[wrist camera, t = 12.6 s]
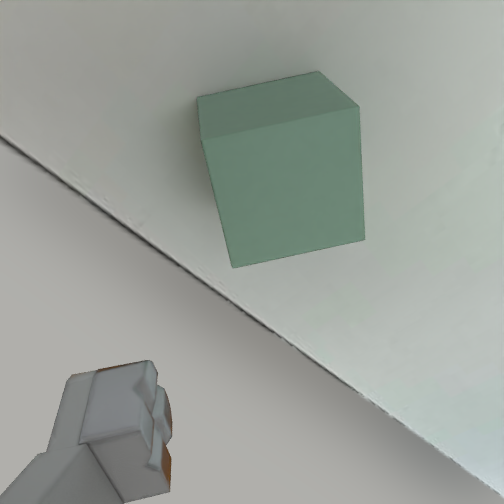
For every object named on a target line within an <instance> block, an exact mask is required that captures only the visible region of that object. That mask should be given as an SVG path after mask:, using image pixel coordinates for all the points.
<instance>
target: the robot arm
mask: <svg viewBox="0 0 504 504" xmlns="http://www.w3.org/2000/svg"><path fill="white" fill-rule="evenodd" d="M157 376H158V372H157V370H156V368H155V366H154V364H153V362H152V361H150V360H145V361H140V362H134V363H129V364H124V365H118V366H113V367H108V368H103V369H98V370H95V371H90V372H84V373H79V374H73V375H71V377H70V378H69V379H68V380H67V382H66V385H65V388H64V392H63V396H62V399H61V402H60V406H59V410H58V413H57V416H56V420H55V423H54V427H53V430H52V434H51V437H50V441H49V444H48V448H47V451H46V452H45V453H40V454H38V455H37V456H36V457H35V458H34V459H33V460H32V461H31V462H30V463H29V464H28V466H27V467H26V468H25V469H24V470H23V471H22V472H21V473H20V474H19V476H18V477H17V478H16V479H15V480H14V481H13V482H12V483H11V484H10V485H9V487H8V488H7V489H6V490H5V491H4V492H3V493H2V494H1V496H0V504H123V503H126V502H131V501H135V500H139V499H143V498H147V497H152V496H155V495H160V494H163V493H168V492H170V480H171V456H170V454H169V452H168V450H167V447H166V445H167V443H168V442H169V440H170V439H171V437H172V417H171V408H170V404H169V400H168V397H167V394H166V392H165V389H164V388H163V387H161V386H159V385H157Z"/></svg>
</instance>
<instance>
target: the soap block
mask: <svg viewBox="0 0 504 504" xmlns="http://www.w3.org/2000/svg"><path fill="white" fill-rule="evenodd" d="M197 106H198V116H199V126H200V137H201V144H202V148H203V152H204V156H205V160H206V164H207V168H208V172H209V176H210V180H211V184H212V188H213V192H214V196H215V200H216V204H217V209H218V213H219V217H220V221H221V225H222V229H223V233H224V237H225V241H226V245H227V249H228V253H229V257H230V261H231V265H232V268H238V267H243V266H247V265H252V264H257V263H261V262H266V261H270V260H275V259H279V258H284V257H289V256H293V255H298V254H302V253H307V252H312V251H316V250H321V249H325V248H330V247H335V246H339V245H344V244H348V243H353V242H358V241H362V240H365V226H364V203H363V180H362V157H361V134H360V112H359V106H358V105H357V104H356V103H355V102H354V101H353V100H351V99H350V98H349V97H348V96H347V95H346V94H345V93H343V92H342V91H341V90H340V89H339V88H338V87H337V86H335V85H334V84H333V83H332V82H331V81H330V80H329V79H328V78H326V77H325V76H324V75H323V74H322V73H321V72H319V71H318V72H313V73H308V74H304V75H299V76H294V77H290V78H285V79H280V80H276V81H271V82H266V83H262V84H257V85H252V86H248V87H243V88H238V89H234V90H229V91H224V92H220V93H215V94H210V95H205V96H201V97H198V98H197Z"/></svg>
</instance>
